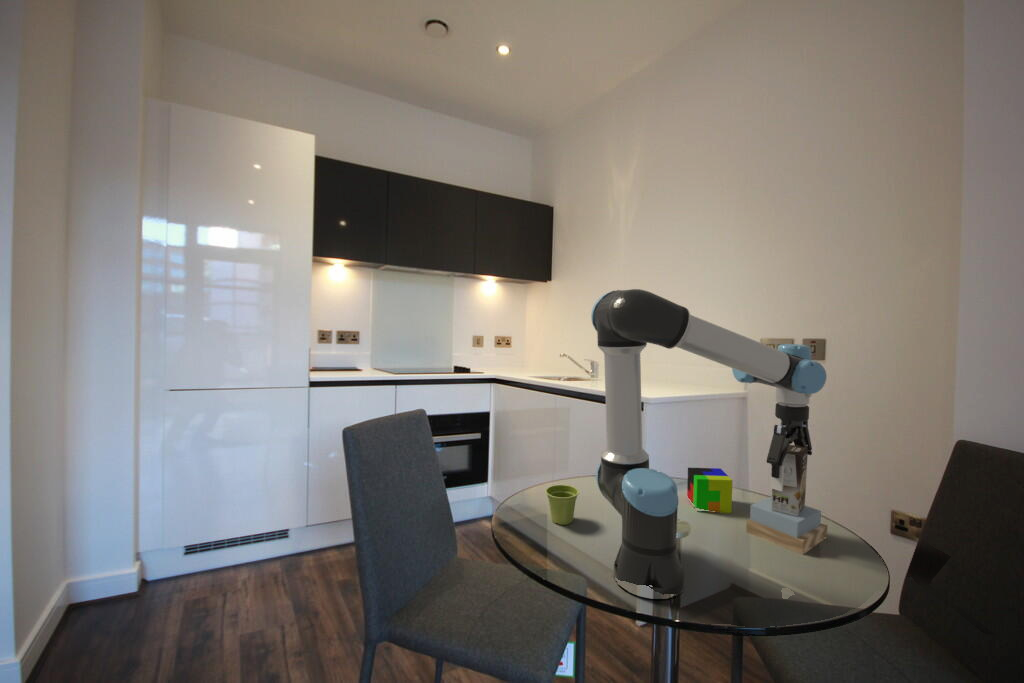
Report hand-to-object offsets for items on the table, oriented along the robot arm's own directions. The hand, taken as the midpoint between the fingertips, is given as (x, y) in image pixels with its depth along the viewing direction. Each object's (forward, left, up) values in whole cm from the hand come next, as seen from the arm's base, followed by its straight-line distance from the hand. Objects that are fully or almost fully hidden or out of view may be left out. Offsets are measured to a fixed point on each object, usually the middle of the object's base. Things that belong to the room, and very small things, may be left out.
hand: (788, 483), depth 123 cm
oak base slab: (0, 0, -15) cm, 15 cm away
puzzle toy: (+1, +23, -14) cm, 27 cm away
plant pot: (-42, +42, -14) cm, 61 cm away
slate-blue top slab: (0, +1, -11) cm, 11 cm away
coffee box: (+1, 0, -7) cm, 7 cm away
